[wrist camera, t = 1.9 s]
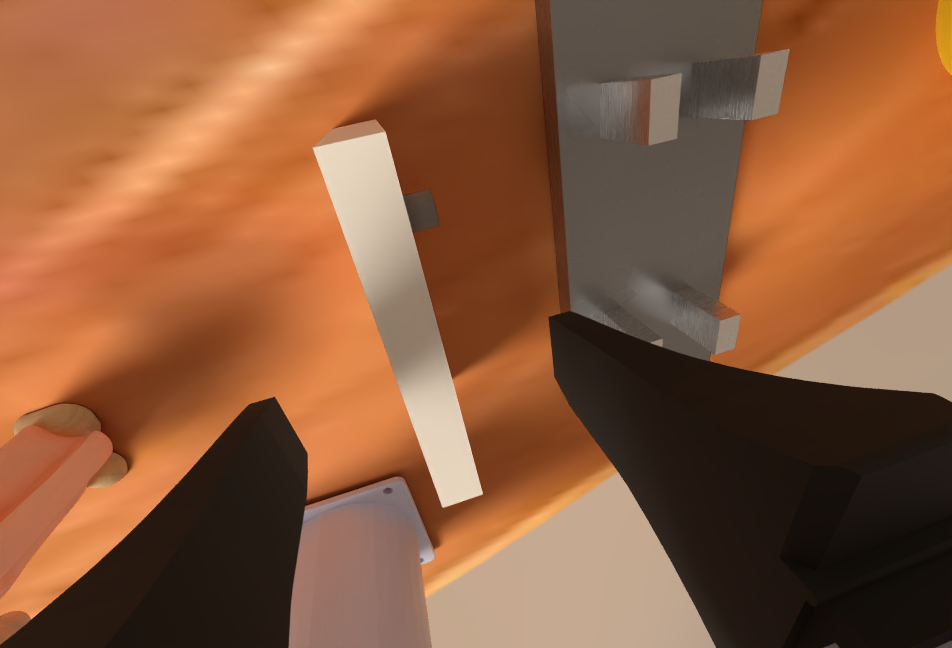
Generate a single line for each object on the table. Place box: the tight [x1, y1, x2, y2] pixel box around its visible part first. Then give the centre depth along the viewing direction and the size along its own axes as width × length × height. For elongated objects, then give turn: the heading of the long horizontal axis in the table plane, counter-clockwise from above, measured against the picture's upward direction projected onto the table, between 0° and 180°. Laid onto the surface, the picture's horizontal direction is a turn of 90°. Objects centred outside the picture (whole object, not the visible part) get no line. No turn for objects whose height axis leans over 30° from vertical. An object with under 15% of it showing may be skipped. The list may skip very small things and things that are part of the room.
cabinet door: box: [313, 119, 483, 508], centre depth 14 cm, size 2×12×7 cm, turn 10°
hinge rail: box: [535, 0, 790, 417], centre depth 17 cm, size 8×20×4 cm, turn 10°
